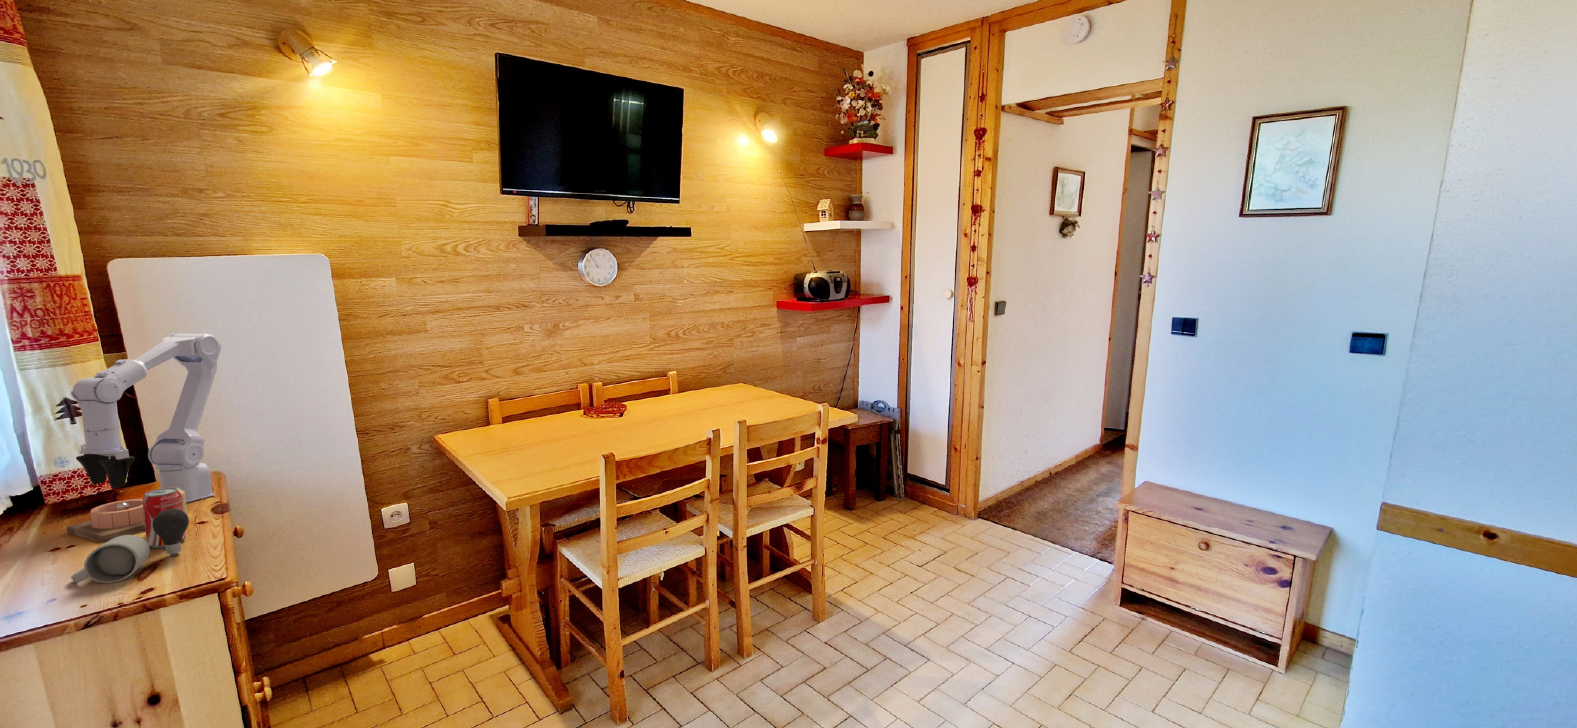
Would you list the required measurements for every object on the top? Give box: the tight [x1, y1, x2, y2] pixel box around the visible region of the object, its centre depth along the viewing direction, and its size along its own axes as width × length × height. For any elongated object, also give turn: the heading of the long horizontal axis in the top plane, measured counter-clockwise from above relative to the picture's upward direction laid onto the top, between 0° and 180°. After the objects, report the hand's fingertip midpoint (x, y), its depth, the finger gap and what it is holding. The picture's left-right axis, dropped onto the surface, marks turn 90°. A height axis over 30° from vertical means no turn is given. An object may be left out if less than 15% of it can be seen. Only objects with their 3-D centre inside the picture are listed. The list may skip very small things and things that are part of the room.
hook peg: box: [116, 502, 130, 528], centre depth 153 cm, size 2×8×6 cm, turn 70°
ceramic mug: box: [70, 534, 151, 584], centre depth 129 cm, size 11×8×8 cm
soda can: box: [142, 488, 187, 549], centre depth 144 cm, size 6×6×12 cm
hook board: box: [66, 520, 146, 543], centre depth 154 cm, size 14×14×2 cm
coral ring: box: [89, 498, 144, 529], centre depth 153 cm, size 10×10×4 cm
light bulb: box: [153, 509, 190, 557], centre depth 139 cm, size 6×6×10 cm
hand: (108, 485), depth 154 cm, fingers open, 7 cm apart
